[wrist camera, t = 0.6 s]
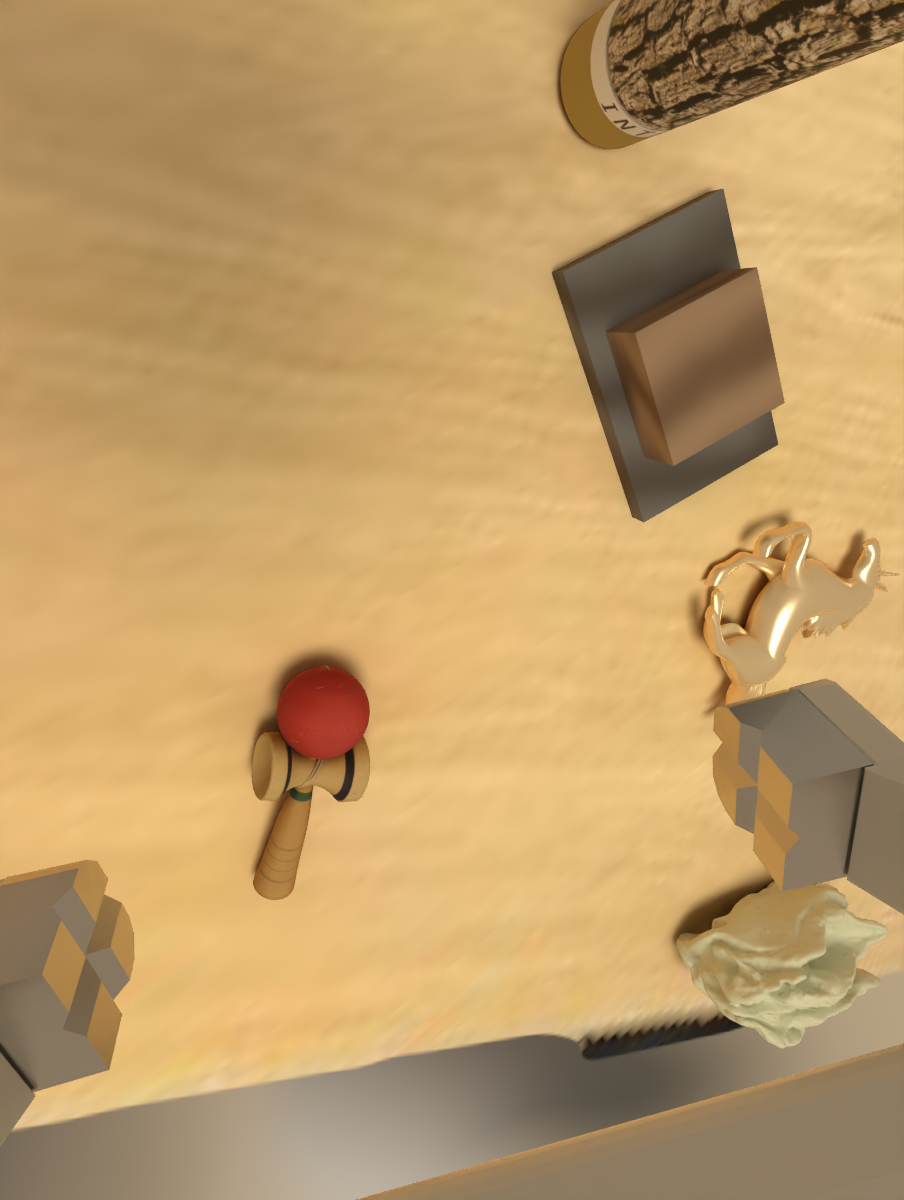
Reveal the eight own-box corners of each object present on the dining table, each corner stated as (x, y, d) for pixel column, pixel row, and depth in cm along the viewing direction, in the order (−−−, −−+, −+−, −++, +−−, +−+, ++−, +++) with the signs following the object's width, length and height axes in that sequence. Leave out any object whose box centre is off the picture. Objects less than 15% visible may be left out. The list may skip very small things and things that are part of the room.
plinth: (551, 273, 46) (591, 268, 42) (708, 192, 48) (761, 179, 43) (632, 517, 54) (672, 534, 50) (764, 441, 56) (813, 452, 51)
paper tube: (549, 19, 41) (970, -321, 19) (654, 11, 43) (1153, -312, 21) (560, 158, 44) (939, -1, 22) (659, 145, 46) (1104, -15, 24)
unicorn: (632, 688, 60) (768, 748, 67) (659, 709, 57) (800, 771, 64) (760, 467, 57) (888, 555, 64) (798, 476, 54) (929, 567, 61)
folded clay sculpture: (739, 842, 81) (898, 895, 71) (728, 956, 82) (884, 1025, 71) (657, 886, 69) (836, 959, 58) (645, 1021, 69) (819, 1117, 59)
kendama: (330, 856, 58) (393, 663, 51) (327, 923, 52) (397, 716, 45) (229, 841, 56) (281, 639, 49) (215, 908, 50) (271, 691, 43)
